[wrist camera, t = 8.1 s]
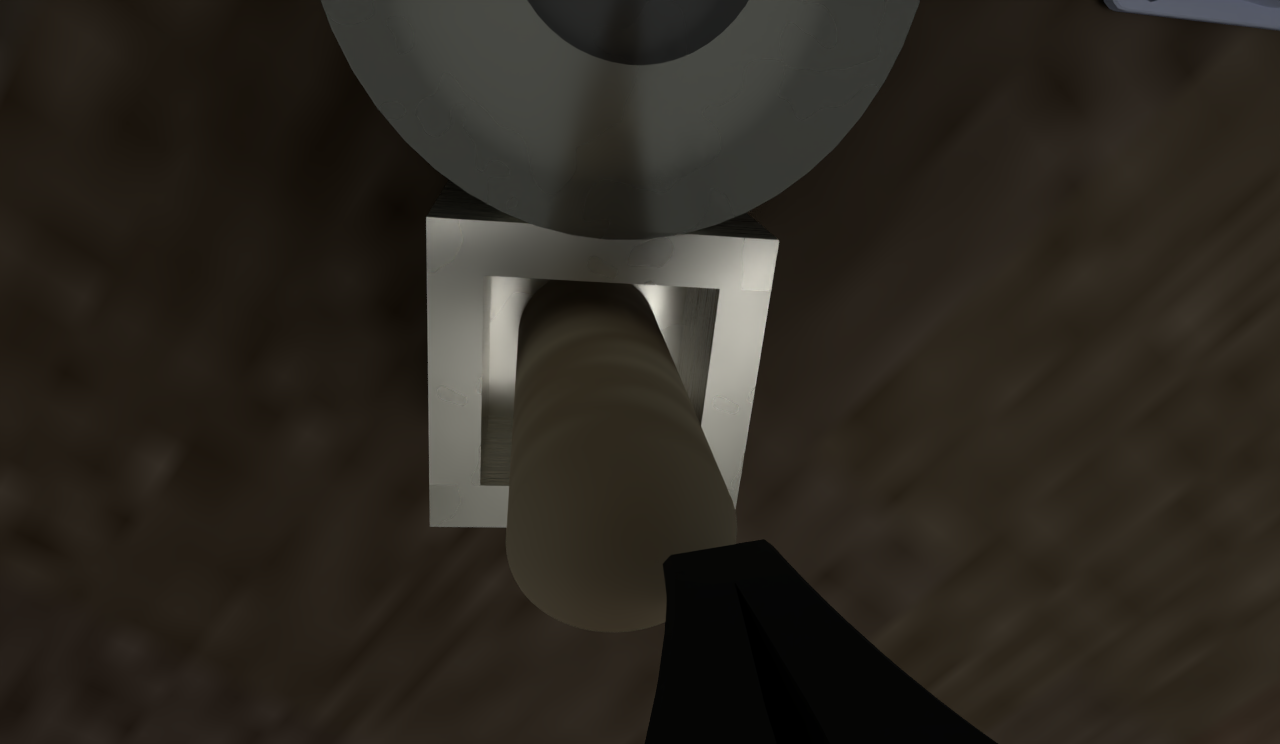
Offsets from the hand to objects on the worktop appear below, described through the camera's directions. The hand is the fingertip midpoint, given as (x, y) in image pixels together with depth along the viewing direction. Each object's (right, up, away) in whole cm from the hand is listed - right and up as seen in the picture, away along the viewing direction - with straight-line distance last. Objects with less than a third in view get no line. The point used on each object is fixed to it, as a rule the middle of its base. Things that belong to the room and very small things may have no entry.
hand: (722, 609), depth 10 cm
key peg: (-2, +4, +8) cm, 9 cm away
